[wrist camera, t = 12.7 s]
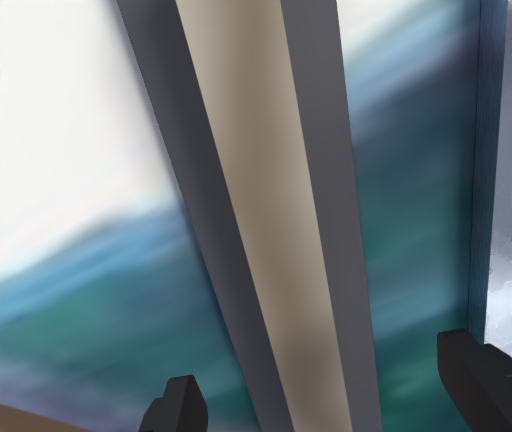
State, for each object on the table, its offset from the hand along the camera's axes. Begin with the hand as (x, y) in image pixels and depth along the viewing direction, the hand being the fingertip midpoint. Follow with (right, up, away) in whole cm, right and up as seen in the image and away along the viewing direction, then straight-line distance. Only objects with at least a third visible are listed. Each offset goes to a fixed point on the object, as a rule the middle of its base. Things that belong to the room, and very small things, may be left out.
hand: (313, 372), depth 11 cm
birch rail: (0, +3, +6) cm, 7 cm away
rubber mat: (0, +3, +7) cm, 8 cm away
